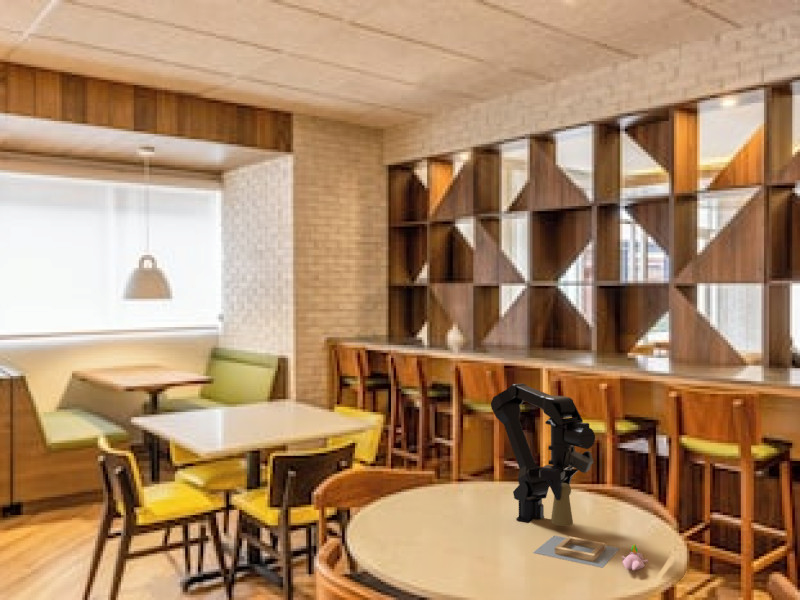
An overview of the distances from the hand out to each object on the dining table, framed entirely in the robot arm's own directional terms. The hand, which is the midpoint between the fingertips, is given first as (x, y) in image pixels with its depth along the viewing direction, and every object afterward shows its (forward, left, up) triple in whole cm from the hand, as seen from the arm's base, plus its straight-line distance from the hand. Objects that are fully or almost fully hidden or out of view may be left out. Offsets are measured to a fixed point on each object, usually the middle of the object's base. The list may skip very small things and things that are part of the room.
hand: (561, 497), depth 193 cm
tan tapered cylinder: (0, 0, -7) cm, 7 cm away
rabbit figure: (+24, -15, -10) cm, 30 cm away
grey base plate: (+9, -13, -10) cm, 19 cm away
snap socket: (+10, -13, -9) cm, 19 cm away
